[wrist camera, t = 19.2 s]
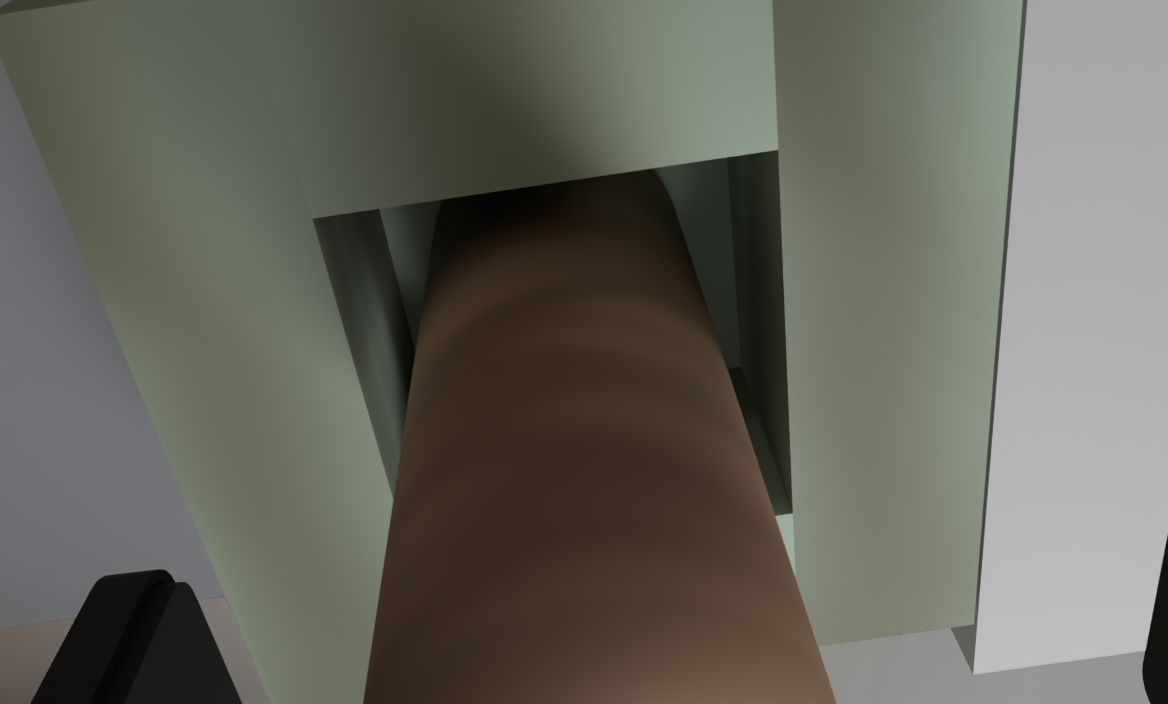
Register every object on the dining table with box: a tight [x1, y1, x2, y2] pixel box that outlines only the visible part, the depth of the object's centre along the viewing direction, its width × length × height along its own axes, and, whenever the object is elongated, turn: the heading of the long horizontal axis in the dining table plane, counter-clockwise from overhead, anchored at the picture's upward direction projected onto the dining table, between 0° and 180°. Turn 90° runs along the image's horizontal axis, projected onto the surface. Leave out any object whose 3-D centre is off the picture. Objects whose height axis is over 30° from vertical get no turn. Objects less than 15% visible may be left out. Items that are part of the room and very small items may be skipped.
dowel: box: [363, 169, 836, 704], centre depth 13 cm, size 4×4×10 cm
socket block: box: [0, 0, 1023, 704], centre depth 16 cm, size 11×11×5 cm
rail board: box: [0, 0, 1168, 675], centre depth 17 cm, size 26×14×5 cm, turn 98°
